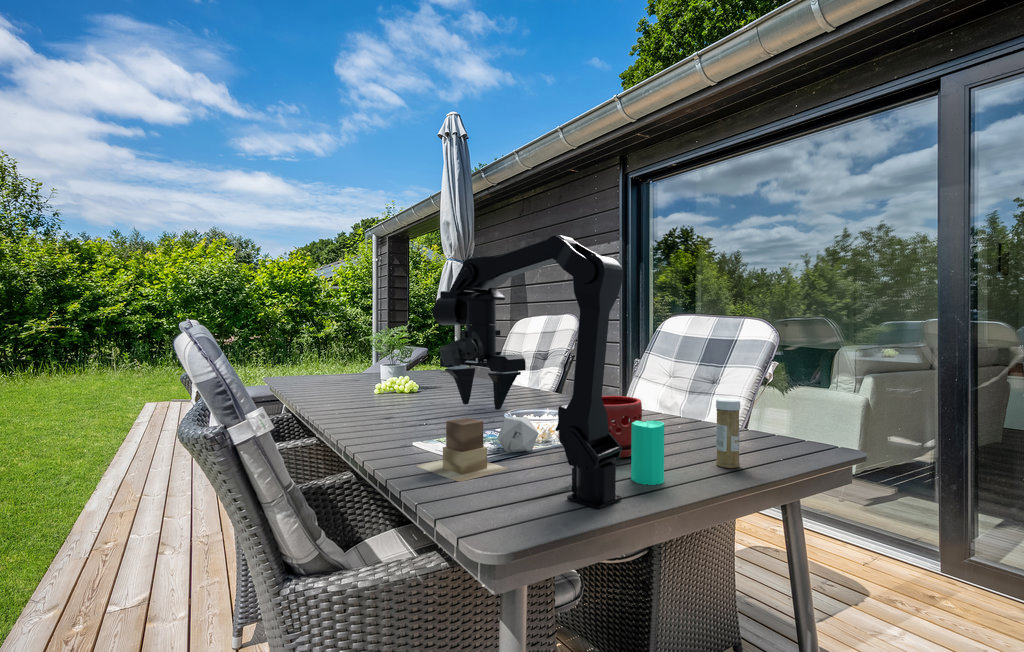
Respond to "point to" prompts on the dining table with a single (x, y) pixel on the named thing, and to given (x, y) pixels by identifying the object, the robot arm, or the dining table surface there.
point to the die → (517, 434)
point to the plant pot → (622, 419)
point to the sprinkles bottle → (727, 432)
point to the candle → (647, 452)
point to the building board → (438, 469)
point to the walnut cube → (464, 434)
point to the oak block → (465, 460)
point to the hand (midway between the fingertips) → (481, 406)
